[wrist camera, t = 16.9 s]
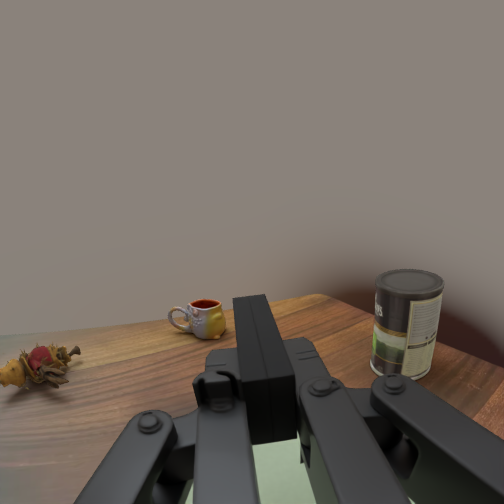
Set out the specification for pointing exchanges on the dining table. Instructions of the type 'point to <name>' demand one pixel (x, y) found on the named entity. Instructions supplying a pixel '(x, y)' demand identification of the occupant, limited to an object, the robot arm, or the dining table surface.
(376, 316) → the coffee can
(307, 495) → the lid
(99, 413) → the dining table surface
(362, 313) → the dining table surface
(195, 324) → the mug
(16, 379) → the scarecrow
